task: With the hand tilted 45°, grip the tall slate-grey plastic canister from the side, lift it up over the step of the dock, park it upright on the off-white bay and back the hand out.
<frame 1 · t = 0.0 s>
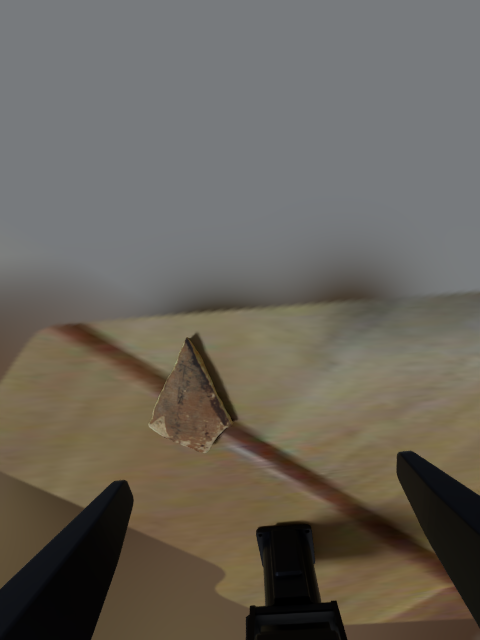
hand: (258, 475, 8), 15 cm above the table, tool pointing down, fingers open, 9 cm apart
shard: (182, 395, 25), on the table
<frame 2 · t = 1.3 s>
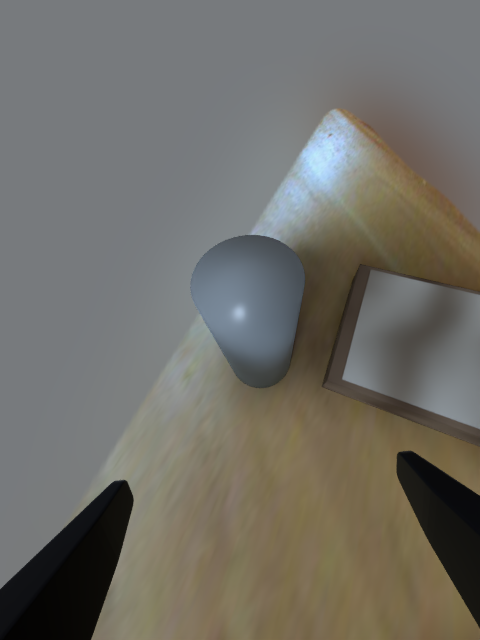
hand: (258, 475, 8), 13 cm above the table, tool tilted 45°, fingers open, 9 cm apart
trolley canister: (260, 358, 24), on the table
dock: (407, 349, 22), on the table
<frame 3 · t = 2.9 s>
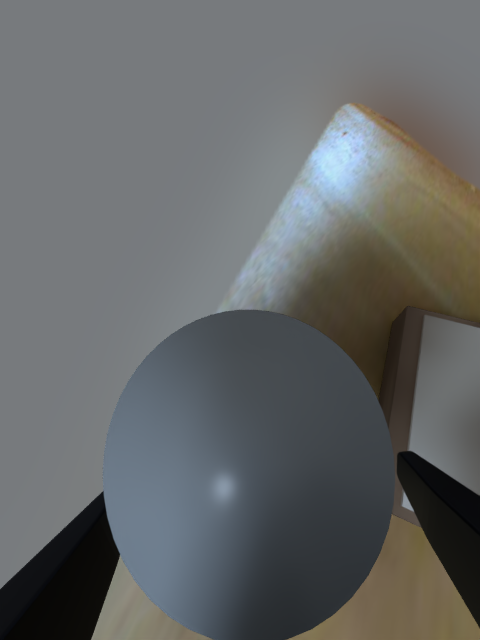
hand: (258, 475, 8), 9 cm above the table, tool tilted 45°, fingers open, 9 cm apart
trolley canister: (266, 444, 16), on the table
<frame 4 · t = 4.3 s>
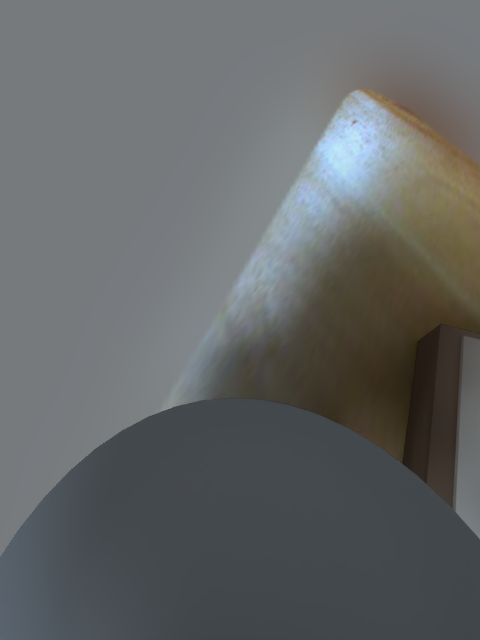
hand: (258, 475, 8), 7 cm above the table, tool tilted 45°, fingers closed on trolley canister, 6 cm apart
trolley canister: (269, 493, 13), on the table, touching gripper
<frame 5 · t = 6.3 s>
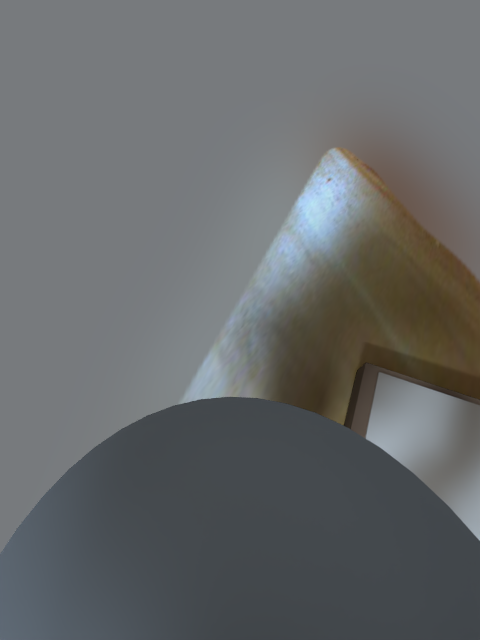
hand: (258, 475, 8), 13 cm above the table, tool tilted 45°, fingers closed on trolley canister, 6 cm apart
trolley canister: (269, 493, 13), point 7 cm above the table, touching gripper
dock: (424, 474, 18), on the table
when the fingers open (10 cm above the table, at t = 8.3 s): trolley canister drops 1 cm, resting on dock.
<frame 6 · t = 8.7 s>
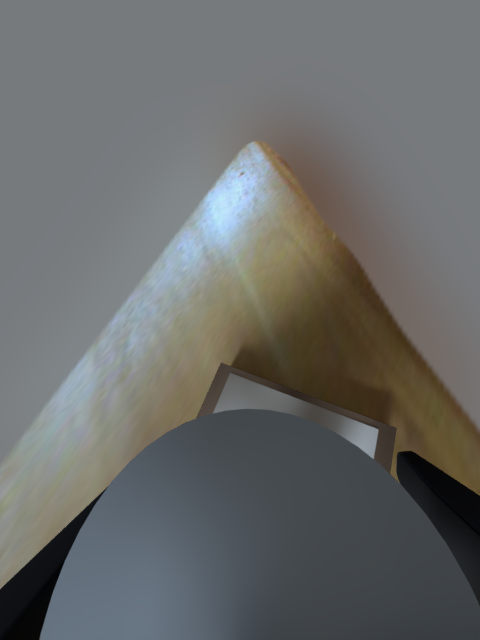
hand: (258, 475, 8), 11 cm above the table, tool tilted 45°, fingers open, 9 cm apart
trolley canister: (270, 490, 14), point 3 cm above the table, touching dock
dock: (271, 483, 17), on the table
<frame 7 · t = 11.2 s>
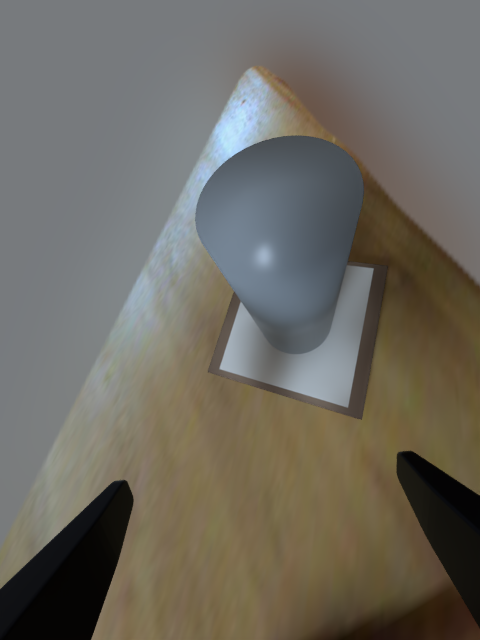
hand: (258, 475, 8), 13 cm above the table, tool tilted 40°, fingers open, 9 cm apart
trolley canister: (295, 320, 20), point 3 cm above the table, touching dock
dock: (296, 328, 23), on the table
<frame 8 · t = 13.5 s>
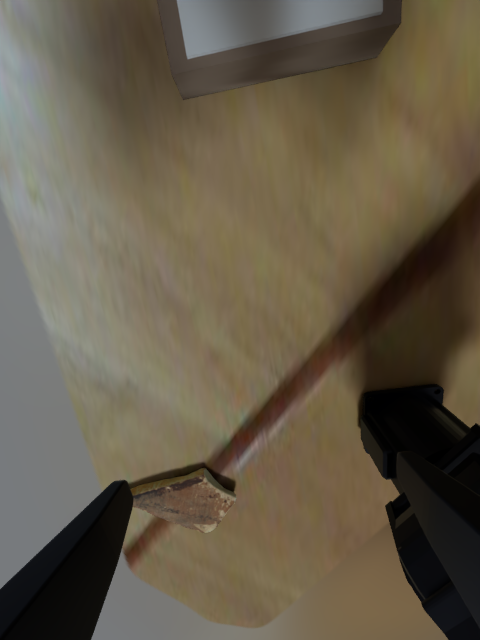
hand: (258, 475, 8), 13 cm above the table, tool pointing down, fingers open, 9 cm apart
shard: (186, 496, 27), on the table
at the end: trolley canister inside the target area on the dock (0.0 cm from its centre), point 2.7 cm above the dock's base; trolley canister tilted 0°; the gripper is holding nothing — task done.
